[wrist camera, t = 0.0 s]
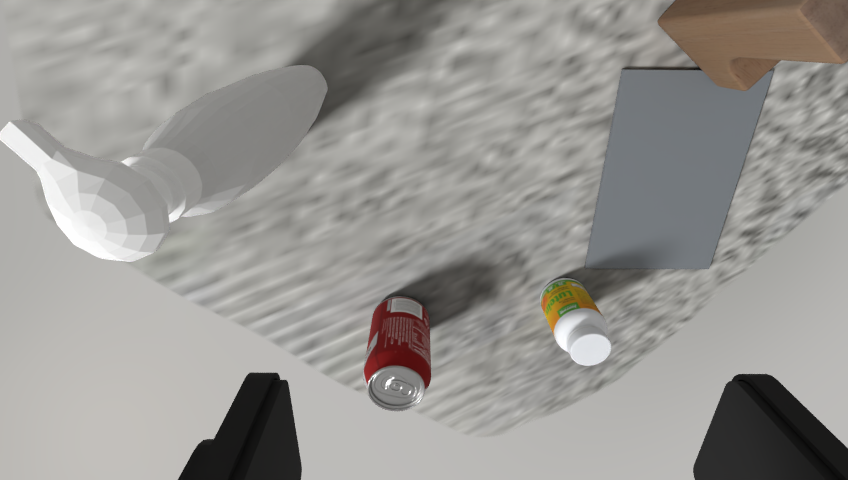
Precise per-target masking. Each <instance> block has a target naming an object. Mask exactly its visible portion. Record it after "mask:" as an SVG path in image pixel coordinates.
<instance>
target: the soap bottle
mask: <svg viewBox="0 0 848 480" xmlns="http://www.w3.org/2000/svg"><path fill="white" fill-rule="evenodd" d="M327 90H328V87H327V83H326V81H325V79H324V77H323V75H322V74H321V72H319V71H318V70H317V69H316V68H314V67H311V66H309V65H295V66H288V67H283V68H279V69H274V70H269V71H266V72H262V73H259V74H256V75H252V76H250V77H248V78H245V79H243V80H240V81H238V82H236V83H233V84H231V85H228V86H226V87H223V88H221V89H218V90H216V91H213V92H211V93H208V94H206V95H204V96H203V97H201V98H199V99H198V100H196V101H195V102H193V103H191V104H190V105H188V106H187V107H185V108H183V109H182V110H180V111H178V112H177V113H176V114H174V115H173V116H172V117H170V118H169V119H168V120H167V121H165V122H164V123H163V124H161V125H160V126H159V127H158V128H157V129H156V130H155V132H154V133H153V134H152V135H151V137H150V138H149V139H148V140H147V141H146V143H145V144H144V147H143V150H142V152H141V153H138V154H136V155H133V156H131V157H129V158H127V159H125V160H123V161H122V162H117V161H112V160H107V159H102V158H97V157H93V156H90V155H87V154H84V153H81V152H78V151H75V150H72V149H69V148H66V147H64V146H63V145H62V144H61V143H60V142H59V141H58V140H56V139H55V138H54V137H53V136H52V135H51V134H50V133H48V132H47V131H46V130H45V129H44V128H43V127H42V126H40V125H39V124H38V123H34V122H30V121H27V120H15V121H10V122H9V123H8V124H7V125H6V126H5V127H4V128H3V129H2V131H1V132H0V140H1V141H3V142H4V143H5V144H6V145H7V146H8V147H9V148H11V149H12V150H13V151H14V152H15V153H16V154H17V155H19V156H20V157H21V158H22V159H23V160H24V161H26V162H27V163H28V164H29V165H30V166H31V167H32V168H34V169H35V170H36V171H37V173H38V175H39V177H40V179H41V183H42V187H43V190H44V194H45V198H46V201H47V203H48V206H49V208H50V210H51V212H52V214H53V216H54V218H55V220H56V223H57V225H58V226H59V227H60V229H61V230H62V231H63V232H64V233H65V234H66V236H67V237H68V238H69V239H70V240H71V241H72V243H73V244H74V245H76V246H78V247H79V248H81V249H83V250H85V251H87V252H89V253H91V254H92V255H95V256H96V257H99V258H103V259H109V260H118V261H127V262H133V261H135V260H138V259H140V258H143V257H145V256H147V255H150V254H152V253H154V252H155V251H157V250H158V249H159V248H160V246H161V245H162V243H163V241H164V239H165V238H166V236H167V234H168V232H169V230H170V223H171V222H172V221H174V220H176V219H178V218H179V217H181V216H184V217H191V216H196V215H201V214H206V213H210V212H214V211H216V210H218V209H220V208H222V207H224V206H226V205H228V204H229V203H231V202H232V201H234V200H235V199H237V198H238V197H240V196H241V195H243V194H244V193H246V192H247V191H249V190H250V189H252V188H253V187H254V186H255V185H257V184H258V183H259V182H260V181H262V180H263V179H264V178H265V177H267V176H268V175H269V174H270V173H271V172H272V171H274V170H275V169H276V168H277V167H278V166H279V165H280V164H281V163H282V162H283V161H284V160H285V159H286V158H287V157H288V156H289V154H290V153H291V152H292V151H293V150H294V149H295V148H296V147H297V146H298V145H299V143H300V142H301V141H302V139H303V138H304V136H305V135H306V133H307V132H308V130H309V129H310V127H311V126H312V124H313V123H314V121H315V120H316V118H317V116H318V114H319V111H320V109H321V106H322V104H323V101H324V98H325V96H326V93H327Z"/></svg>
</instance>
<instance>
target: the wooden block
mask: <svg viewBox="0 0 848 480" xmlns="http://www.w3.org/2000/svg"><path fill="white" fill-rule="evenodd" d="M658 24H659V26H660V27H661V28H662V29H663V30H664V31H665V32H666V33H667V34H668V35H669V36H670V37H671V38H672V39H673V40H674V41H675V42H676V43H677V44H678V46H679V47H680V48H681V49H682V50H683V51H684V52H685V53H686V54H687V55H688V56H689V57H690V58H691V59H692V60H693V61H694V62H695V63H696V64H697V65H698V66H699V67H700V68H701V69H702V71H703V72H704V73H705V74H706V75H707V76H708V77H709V78H710V79H711V80H712V81H713V82H714V83H715V84H716V85H717V86H719V87H724V88H729V89H735V90H740V91H747V90H749V89H750V88H751V87H752V86H753V85H754V84H755V83H757V82H758V81H759V80H760V79H761V78H762V77H763V76H764V75H765V74H766V73H767V72H769V71H770V70H771V69H772V68H773V67H774V66H775V65H776V64H777V63H778V62H779V61H781V60H788V61H804V62H819V63H835V64H842V63H845V62H847V61H848V0H676V1H675V2H674V3H673V4H672V5H671V6H670V7H669V8H668V9H667V10H666V11H665V13H664V14H663V15H662V16H661V17H660V18H659V20H658Z"/></svg>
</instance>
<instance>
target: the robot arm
mask: <svg viewBox="0 0 848 480" xmlns="http://www.w3.org/2000/svg"><path fill="white" fill-rule="evenodd" d="M301 472H302V467H301V460H300V454H299V447H298V441H297V435H296V429H295V423H294V417H293V410H292V404H291V398H290V392H289V386H288V382H287V381H286V380H280V377H279V375H278V373H249V374H248V375H247V376H246V378H245V380H244V382H243V384H242V386H241V387H240V390H239V391H238V393H237V396H236V397H235V399H234V401H233V403H232V405H231V407H230V409H229V411H228V413H227V415H226V417H225V419H224V421H223V423H222V425H221V426H220V428H219V431H218V432H217V434H216V436H215V438H214V439H207V440H203V441H202V442H201V443H199V444H198V446H197V447H196V449H195V450H194V452H193V453H192V455H191V457H190V459H189V461H188V462H187V464H186V466H185V468H184V470H183V472H182V473H181V475H180V477H179V479H178V480H301ZM693 473H694V478H695V480H848V448H847V447H846V446H845V445H844V444H843V443H842V442H841V441H840V440H838V439H837V438H836V437H835V436H834V435H833V434H832V433H831V432H830V431H829V430H828V429H827V428H826V427H825V426H824V425H823V424H822V423H821V422H820V421H819V420H818V419H817V418H816V417H815V416H813V414H812V413H811V412H810V411H809V410H807V408H805V407H804V406H803V405H802V404H801V403H800V402H799V401H798V400H797V399H796V398H795V397H794V396H793V395H792V394H791V393H790V392H789V391H788V390H787V389H786V388H785V387H784V386H783V385H782V384H781V383H780V382H779V381H778V380H776V379H775V378H774V377H773V376H770V375H767V374H738V375H736V376H734V378H733V379H732V381H730V382H728V383H727V384H726V386H725V388H724V391H723V393H722V396H721V398H720V401H719V404H718V406H717V408H716V411H715V414H714V416H713V419H712V421H711V424H710V426H709V429H708V431H707V434H706V436H705V439H704V441H703V444H702V446H701V449H700V451H699V454H698V457H697V459H696V462H695V464H694V468H693Z"/></svg>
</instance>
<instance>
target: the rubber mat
mask: <svg viewBox="0 0 848 480" xmlns="http://www.w3.org/2000/svg"><path fill="white" fill-rule="evenodd" d="M773 72H774V71H769V72H767V73H766V74H765V75H764V76H763V77H762V78H761V79H760V80H759V81H758V82H757V83H755V84H754V85H753V86H752V87H751V88H750V89H749V90H747V91H740V90H735V89H729V88H724V87H719V86H717V85H716V84H715V83H714V82H713V81H712V80H711V79H710V78H709V77H708V76H707V75H706V74H705V73H704V72H703V71H702V70H637V69H622V72H621V77H620V82H619V88H618V93H617V98H616V104H615V109H614V114H613V120H612V125H611V130H610V135H609V141H608V146H607V151H606V157H605V162H604V167H603V173H602V178H601V183H600V188H599V194H598V199H597V204H596V210H595V215H594V220H593V226H592V231H591V236H590V241H589V247H588V252H587V257H586V263H585V268H597V269H709V267H710V264H711V261H712V258H713V255H714V252H715V249H716V246H717V243H718V240H719V237H720V234H721V231H722V228H723V225H724V221H725V218H726V215H727V212H728V209H729V206H730V203H731V200H732V197H733V194H734V191H735V188H736V185H737V182H738V179H739V176H740V173H741V169H742V166H743V163H744V160H745V157H746V154H747V151H748V148H749V145H750V142H751V139H752V136H753V133H754V130H755V127H756V124H757V121H758V117H759V114H760V111H761V108H762V105H763V102H764V99H765V96H766V93H767V90H768V87H769V84H770V81H771V78H772V75H773Z"/></svg>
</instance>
